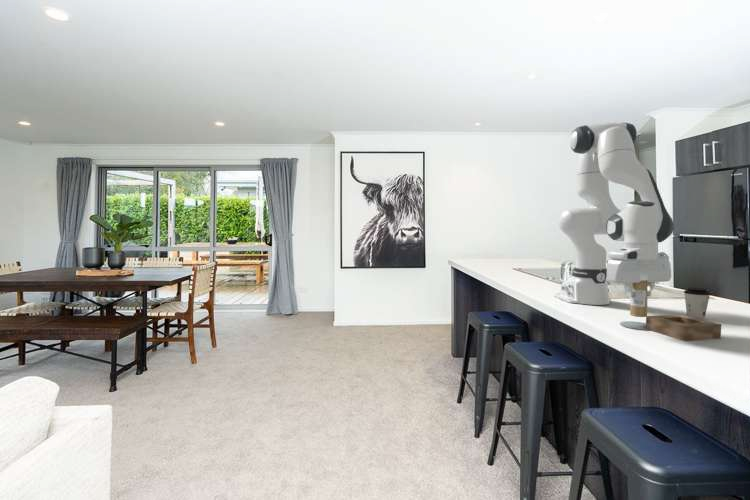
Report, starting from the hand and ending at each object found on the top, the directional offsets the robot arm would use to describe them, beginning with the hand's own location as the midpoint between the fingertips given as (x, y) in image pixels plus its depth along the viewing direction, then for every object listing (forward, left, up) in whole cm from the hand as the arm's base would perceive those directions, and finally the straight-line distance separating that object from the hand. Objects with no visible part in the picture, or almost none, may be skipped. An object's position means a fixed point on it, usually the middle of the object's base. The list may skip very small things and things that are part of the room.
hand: (638, 296), depth 115 cm
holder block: (+9, +6, -10) cm, 14 cm away
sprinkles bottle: (0, 0, -6) cm, 6 cm away
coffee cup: (-5, +28, -10) cm, 30 cm away
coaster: (0, 0, -10) cm, 10 cm away
